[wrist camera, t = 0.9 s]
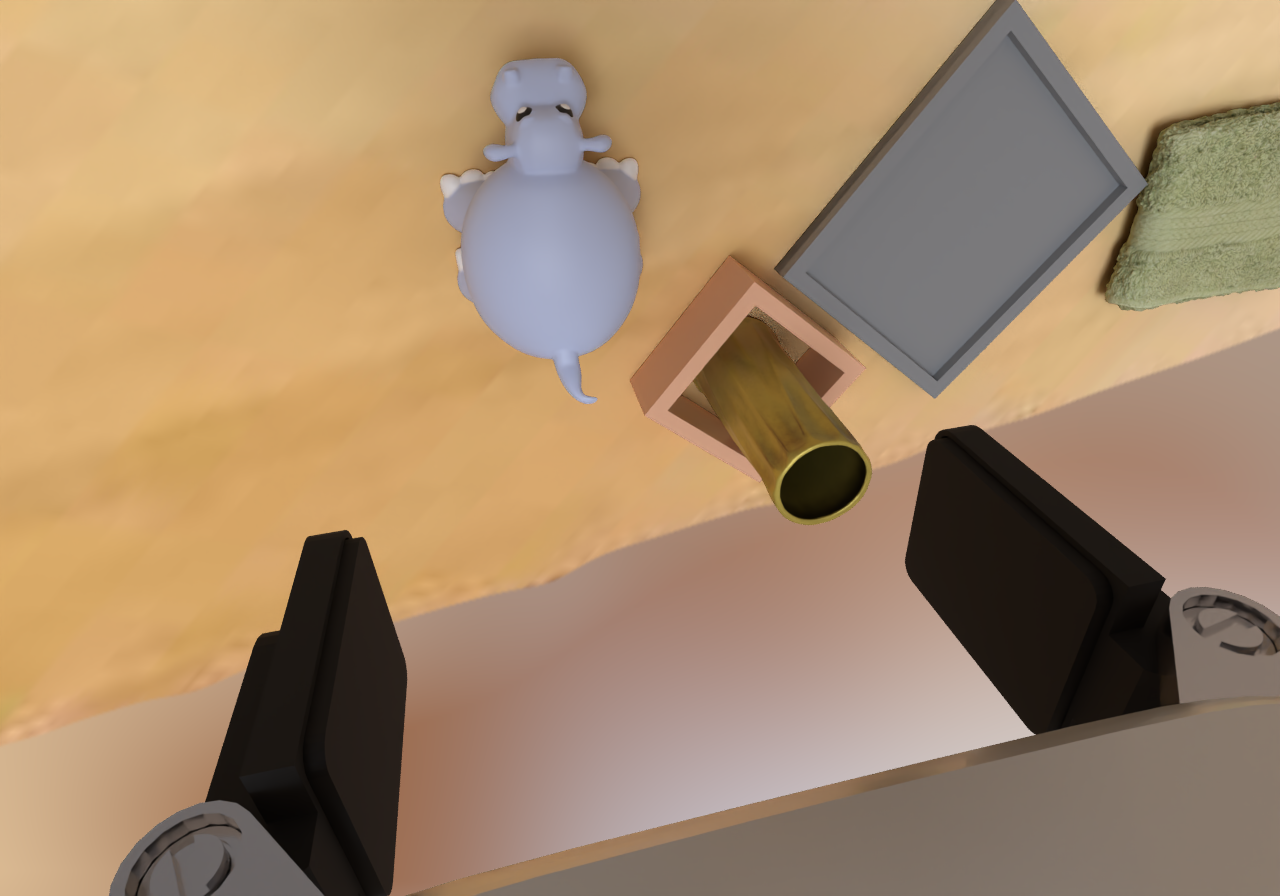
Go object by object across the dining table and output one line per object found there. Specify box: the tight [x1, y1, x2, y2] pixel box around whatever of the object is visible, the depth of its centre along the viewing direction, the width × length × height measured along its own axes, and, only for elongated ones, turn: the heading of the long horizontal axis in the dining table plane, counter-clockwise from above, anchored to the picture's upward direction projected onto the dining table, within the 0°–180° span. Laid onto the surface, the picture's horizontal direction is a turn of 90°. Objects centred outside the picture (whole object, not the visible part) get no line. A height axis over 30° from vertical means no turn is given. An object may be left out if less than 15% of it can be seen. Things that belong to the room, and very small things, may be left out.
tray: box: [775, 0, 1148, 398], centre depth 45 cm, size 18×16×2 cm
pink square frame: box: [630, 255, 866, 482], centre depth 46 cm, size 10×10×4 cm
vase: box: [693, 317, 872, 525], centre depth 42 cm, size 6×6×14 cm
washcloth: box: [1105, 102, 1280, 311], centre depth 47 cm, size 13×18×3 cm
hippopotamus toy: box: [440, 58, 643, 404], centre depth 36 cm, size 11×15×10 cm
